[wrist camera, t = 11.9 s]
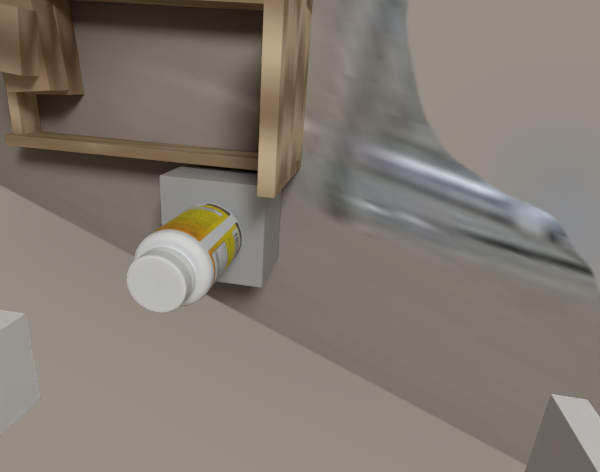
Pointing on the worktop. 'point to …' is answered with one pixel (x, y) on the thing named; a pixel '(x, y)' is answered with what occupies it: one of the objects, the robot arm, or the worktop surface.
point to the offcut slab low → (66, 49)
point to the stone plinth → (240, 202)
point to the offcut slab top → (41, 52)
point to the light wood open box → (268, 161)
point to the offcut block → (18, 41)
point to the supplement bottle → (184, 258)
